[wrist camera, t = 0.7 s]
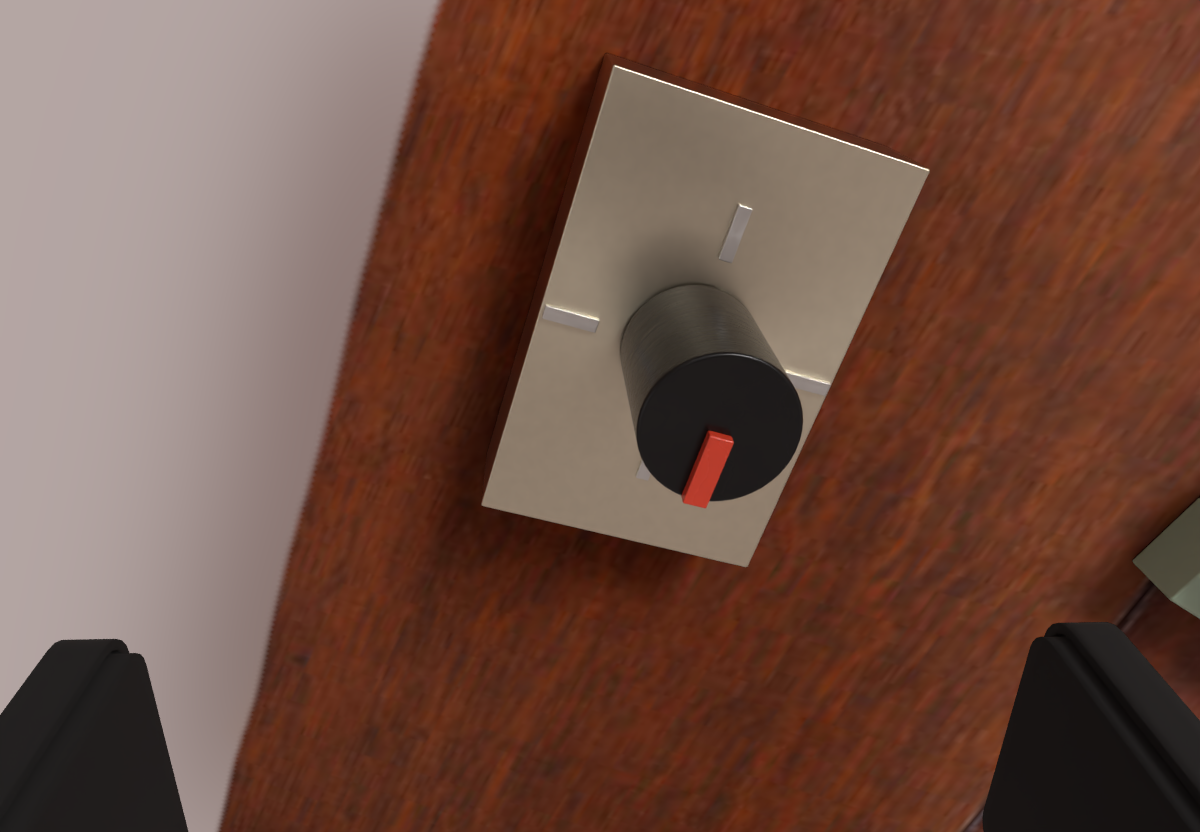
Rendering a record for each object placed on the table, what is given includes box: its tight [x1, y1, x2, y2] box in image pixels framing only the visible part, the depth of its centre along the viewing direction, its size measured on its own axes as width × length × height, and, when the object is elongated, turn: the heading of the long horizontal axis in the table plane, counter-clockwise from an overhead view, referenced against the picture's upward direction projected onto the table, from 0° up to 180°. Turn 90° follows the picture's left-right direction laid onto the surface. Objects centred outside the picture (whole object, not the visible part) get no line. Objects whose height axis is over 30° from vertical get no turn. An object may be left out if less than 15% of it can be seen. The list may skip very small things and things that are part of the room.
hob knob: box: [620, 285, 803, 508], centre depth 21 cm, size 4×4×5 cm
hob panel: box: [481, 53, 930, 567], centre depth 25 cm, size 12×8×3 cm, turn 162°
